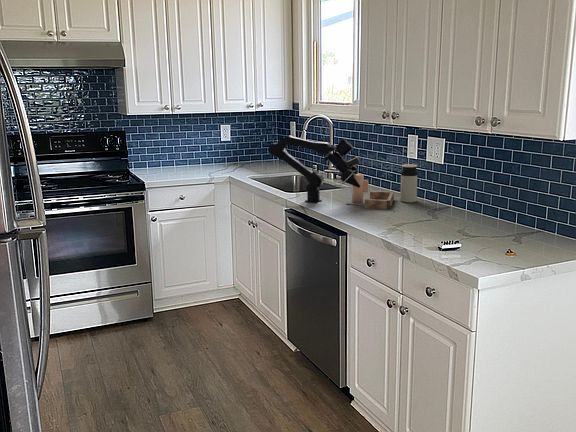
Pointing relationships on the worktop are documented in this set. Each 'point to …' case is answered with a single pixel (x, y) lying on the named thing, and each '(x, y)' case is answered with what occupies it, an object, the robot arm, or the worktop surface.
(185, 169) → the worktop surface
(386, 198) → the cradle
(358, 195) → the tan rounded upright piece
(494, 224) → the worktop surface
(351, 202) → the mat
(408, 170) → the travel mug
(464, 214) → the worktop surface
